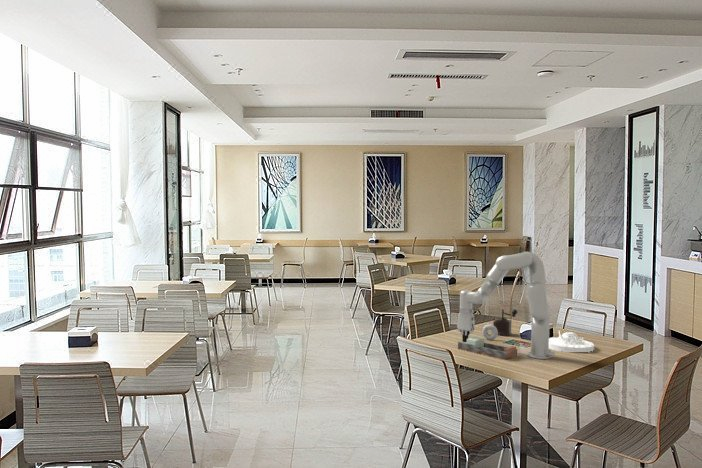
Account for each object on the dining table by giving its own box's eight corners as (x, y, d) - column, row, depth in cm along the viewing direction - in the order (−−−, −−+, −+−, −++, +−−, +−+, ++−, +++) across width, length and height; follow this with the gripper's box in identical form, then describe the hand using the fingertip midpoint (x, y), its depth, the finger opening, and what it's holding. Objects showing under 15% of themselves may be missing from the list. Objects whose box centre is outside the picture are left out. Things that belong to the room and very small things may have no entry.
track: (517, 356, 312) (517, 346, 312) (505, 359, 304) (505, 350, 304) (469, 345, 336) (470, 336, 335) (457, 348, 328) (458, 339, 327)
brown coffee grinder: (492, 335, 368) (493, 308, 368) (495, 331, 378) (496, 305, 377) (516, 337, 361) (517, 310, 361) (519, 334, 371) (520, 307, 370)
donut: (481, 339, 354) (481, 323, 354) (482, 338, 357) (482, 322, 357) (496, 341, 349) (497, 325, 349) (498, 340, 353) (498, 324, 352)
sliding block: (483, 347, 326) (484, 338, 326) (475, 349, 320) (475, 340, 320) (475, 345, 331) (475, 336, 331) (466, 347, 325) (466, 338, 325)
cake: (604, 351, 329) (605, 335, 329) (568, 355, 318) (568, 338, 318) (569, 341, 355) (569, 326, 354) (534, 344, 344) (534, 329, 344)
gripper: (480, 312, 327) (479, 343, 328) (459, 308, 338) (458, 338, 339) (472, 313, 322) (471, 345, 323) (451, 310, 333) (451, 340, 334)
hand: (465, 341), depth 331 cm, fingers closed
